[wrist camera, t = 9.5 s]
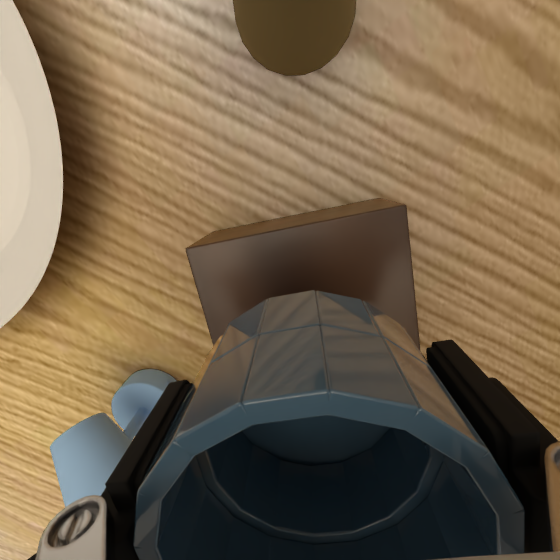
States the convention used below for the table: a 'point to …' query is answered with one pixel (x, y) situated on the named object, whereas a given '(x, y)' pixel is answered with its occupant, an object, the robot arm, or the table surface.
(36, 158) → the cream plate
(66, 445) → the spotlight
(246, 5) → the cork
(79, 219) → the table surface
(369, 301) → the stand
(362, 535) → the small cup
